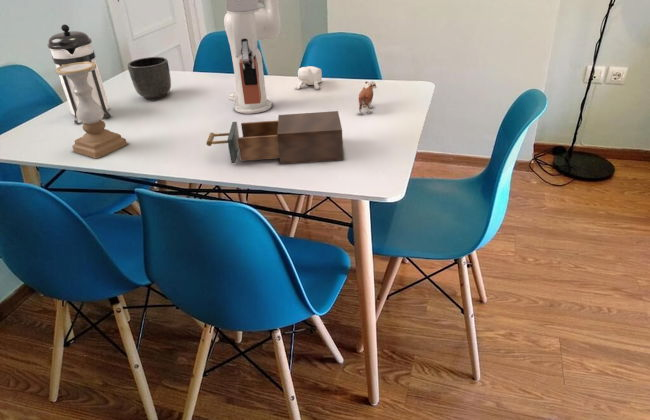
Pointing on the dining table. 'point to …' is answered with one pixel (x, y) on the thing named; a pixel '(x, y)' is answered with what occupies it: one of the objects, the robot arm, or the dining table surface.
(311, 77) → the white lamb toy
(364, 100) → the bull figurine
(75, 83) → the candle holder
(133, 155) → the dining table surface
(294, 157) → the cabinet
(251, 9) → the robot arm
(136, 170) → the dining table surface
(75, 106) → the coffee press
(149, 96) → the planter
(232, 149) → the drawer
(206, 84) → the dining table surface
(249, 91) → the block
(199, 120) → the dining table surface
